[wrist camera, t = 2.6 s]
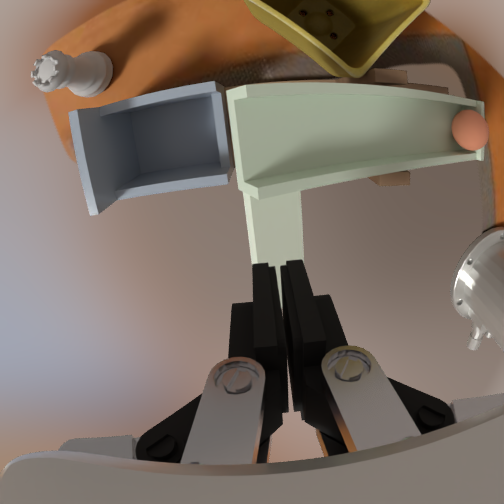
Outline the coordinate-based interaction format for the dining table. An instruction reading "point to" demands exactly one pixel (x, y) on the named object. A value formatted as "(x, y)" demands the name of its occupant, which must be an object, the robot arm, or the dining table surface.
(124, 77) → the dining table surface
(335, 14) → the flower pot
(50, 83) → the rook chess piece
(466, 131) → the ball
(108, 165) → the blue-grey box
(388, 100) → the lever
